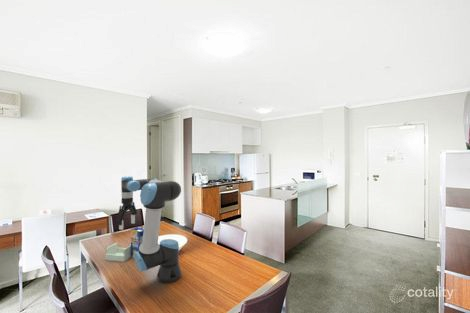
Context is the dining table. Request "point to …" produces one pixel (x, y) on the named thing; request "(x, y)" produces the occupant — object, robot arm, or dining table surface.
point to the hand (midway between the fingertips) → (127, 226)
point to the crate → (117, 253)
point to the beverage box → (136, 239)
